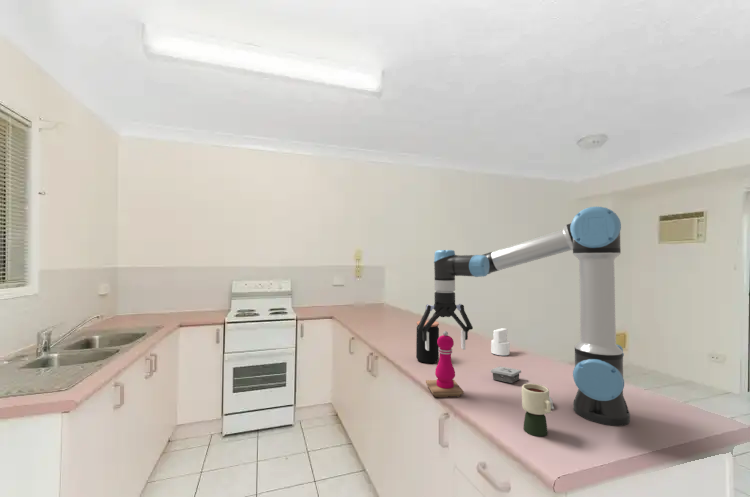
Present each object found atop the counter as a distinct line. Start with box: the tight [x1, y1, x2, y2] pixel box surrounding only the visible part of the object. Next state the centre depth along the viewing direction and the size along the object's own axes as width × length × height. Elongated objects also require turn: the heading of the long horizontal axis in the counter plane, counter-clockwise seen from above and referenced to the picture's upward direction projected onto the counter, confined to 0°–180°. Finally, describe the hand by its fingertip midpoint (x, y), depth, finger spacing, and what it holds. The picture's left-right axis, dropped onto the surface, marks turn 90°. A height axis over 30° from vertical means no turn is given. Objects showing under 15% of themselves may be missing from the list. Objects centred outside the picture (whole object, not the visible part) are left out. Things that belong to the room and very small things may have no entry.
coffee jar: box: [415, 319, 440, 364], centre depth 165 cm, size 11×11×18 cm
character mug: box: [521, 383, 552, 437], centre depth 98 cm, size 11×7×13 cm, turn 17°
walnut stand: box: [425, 379, 465, 398], centre depth 126 cm, size 11×11×2 cm
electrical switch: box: [490, 365, 522, 384], centre depth 140 cm, size 9×5×9 cm
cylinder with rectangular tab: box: [490, 327, 511, 356], centre depth 178 cm, size 9×9×12 cm
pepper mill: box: [434, 330, 456, 389], centre depth 127 cm, size 7×7×20 cm
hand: (445, 349), depth 126 cm, fingers open, 13 cm apart
